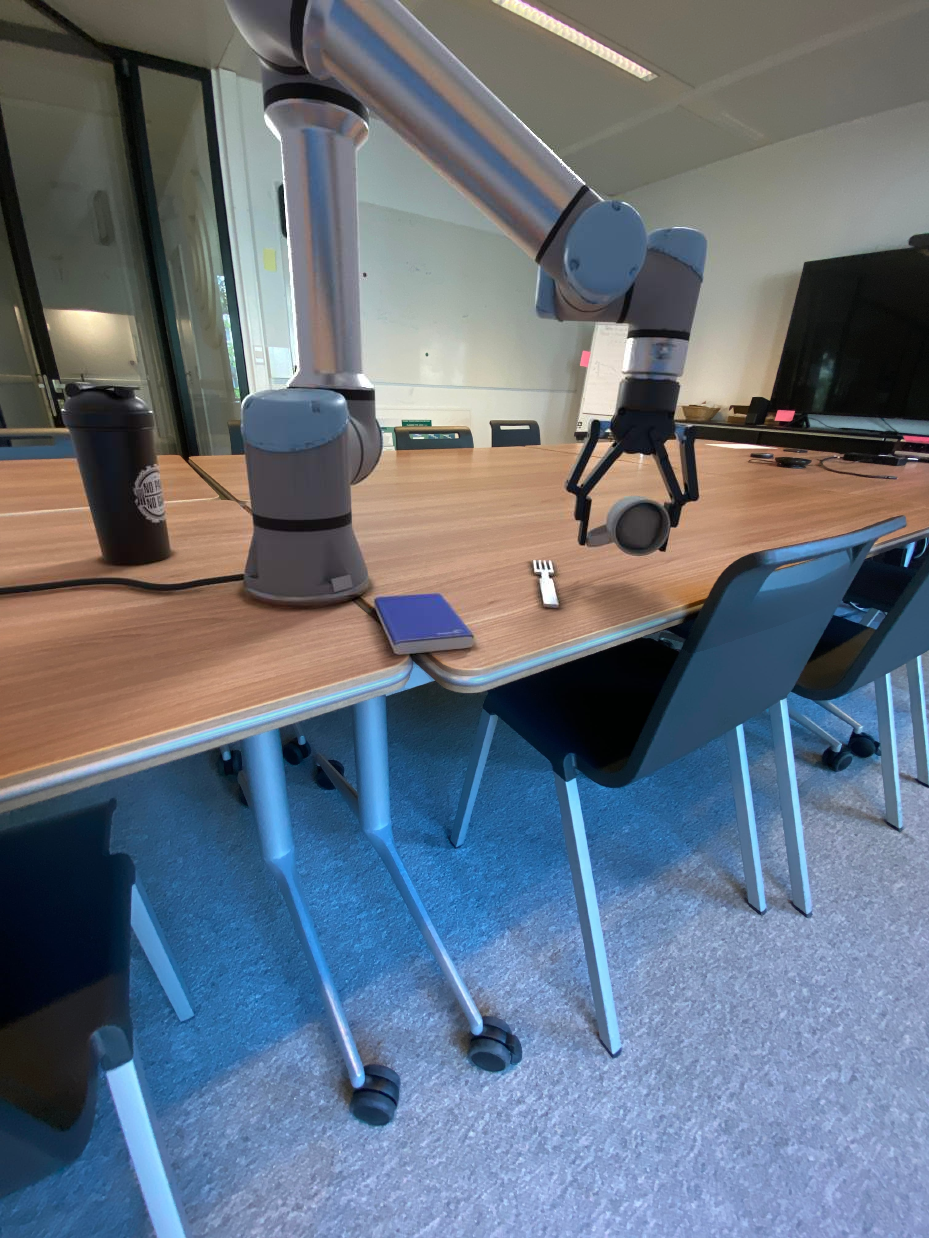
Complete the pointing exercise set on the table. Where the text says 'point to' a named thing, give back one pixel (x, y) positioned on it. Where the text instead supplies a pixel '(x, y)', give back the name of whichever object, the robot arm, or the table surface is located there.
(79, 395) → the water bottle
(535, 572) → the fork
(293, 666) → the table surface
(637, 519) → the ceramic mug
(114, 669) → the table surface
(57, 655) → the table surface
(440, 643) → the hard drive
